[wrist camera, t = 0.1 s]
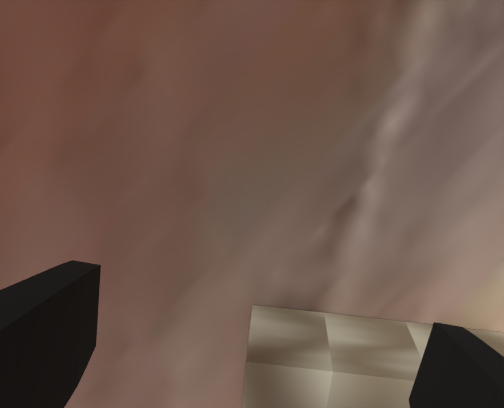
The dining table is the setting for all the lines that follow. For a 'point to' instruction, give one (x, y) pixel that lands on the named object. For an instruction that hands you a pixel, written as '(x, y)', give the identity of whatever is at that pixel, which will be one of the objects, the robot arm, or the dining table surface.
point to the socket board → (334, 359)
